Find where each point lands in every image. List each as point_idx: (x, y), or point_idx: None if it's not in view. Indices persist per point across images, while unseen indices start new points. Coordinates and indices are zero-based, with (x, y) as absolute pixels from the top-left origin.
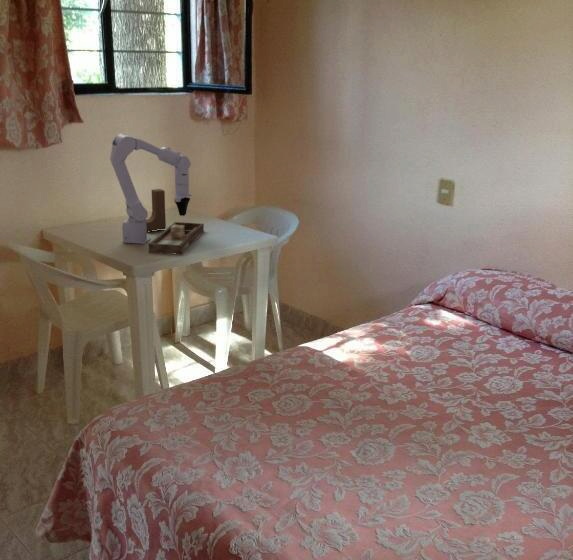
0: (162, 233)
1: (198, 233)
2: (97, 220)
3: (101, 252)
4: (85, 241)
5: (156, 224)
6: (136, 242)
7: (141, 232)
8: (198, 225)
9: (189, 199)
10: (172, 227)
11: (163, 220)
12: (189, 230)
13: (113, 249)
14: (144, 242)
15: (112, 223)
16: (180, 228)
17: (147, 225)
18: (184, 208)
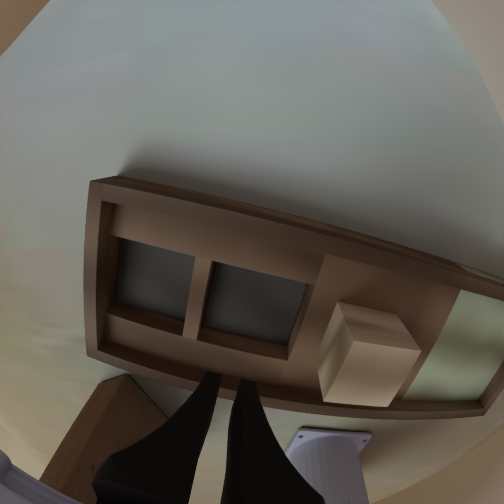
0: (352, 413)
1: (244, 207)
2: None
3: (415, 481)
4: None
5: (148, 429)
6: (358, 453)
7: (362, 473)
8: (105, 215)
9: (167, 486)
10: (392, 398)
11: (117, 415)
12: (202, 272)
13: (399, 473)
14: (366, 435)
15: None
16: (416, 353)
17: None
18: (272, 439)
